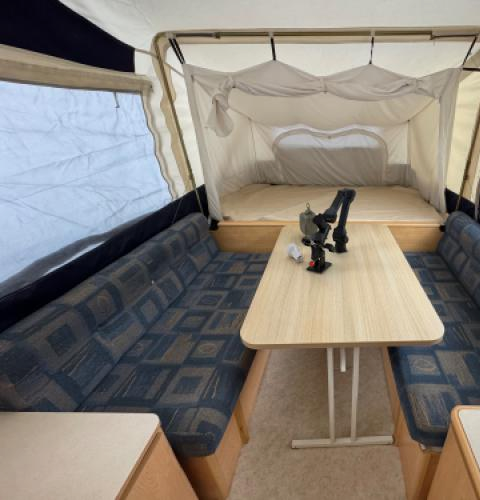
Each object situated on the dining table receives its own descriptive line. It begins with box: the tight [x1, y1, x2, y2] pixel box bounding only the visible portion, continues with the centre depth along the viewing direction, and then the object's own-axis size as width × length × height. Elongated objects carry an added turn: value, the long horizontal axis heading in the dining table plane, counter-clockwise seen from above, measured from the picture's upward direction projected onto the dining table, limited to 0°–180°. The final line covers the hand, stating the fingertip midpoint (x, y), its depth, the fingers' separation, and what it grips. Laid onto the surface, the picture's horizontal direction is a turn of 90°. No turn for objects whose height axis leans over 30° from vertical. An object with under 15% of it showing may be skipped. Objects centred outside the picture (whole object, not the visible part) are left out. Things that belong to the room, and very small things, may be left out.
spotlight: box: [285, 242, 305, 263], centre depth 155 cm, size 8×11×8 cm
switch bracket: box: [306, 250, 333, 275], centre depth 145 cm, size 12×9×10 cm
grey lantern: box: [298, 202, 319, 238], centre depth 181 cm, size 14×9×25 cm, turn 22°
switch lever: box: [308, 254, 320, 267], centre depth 142 cm, size 11×3×3 cm, turn 151°
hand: (312, 259), depth 138 cm, fingers closed
